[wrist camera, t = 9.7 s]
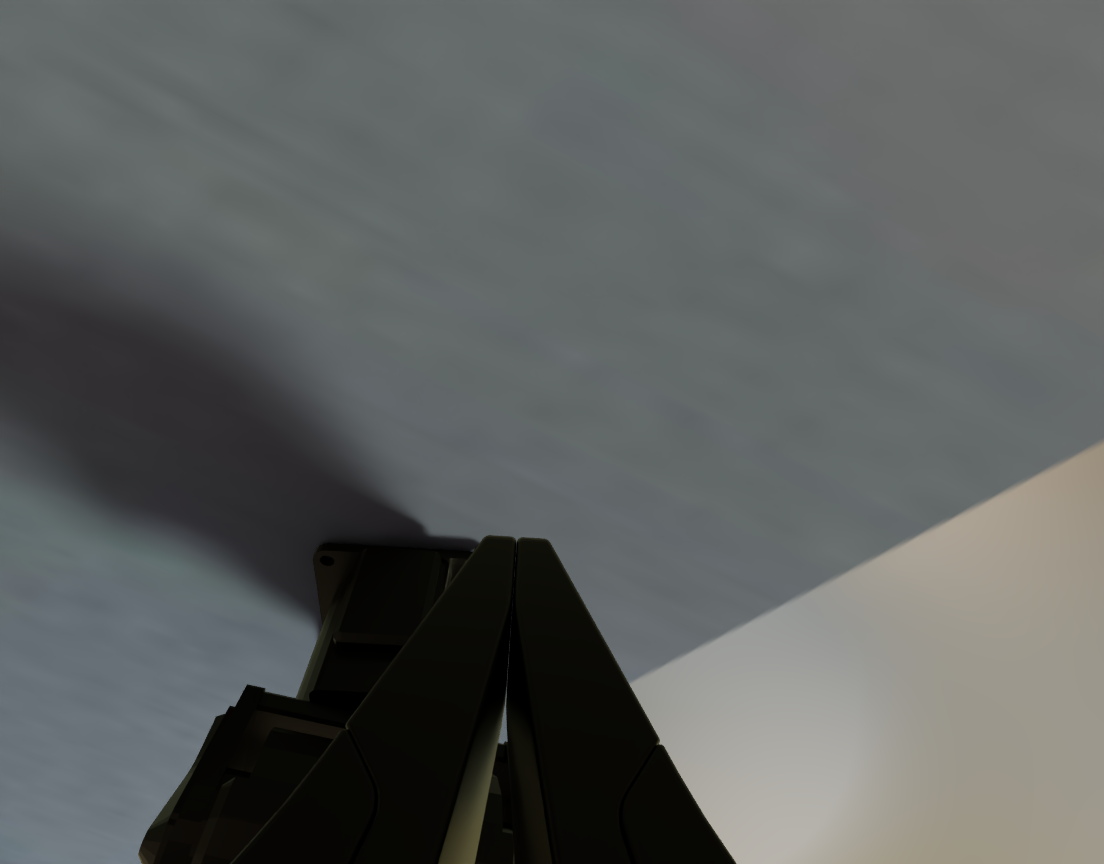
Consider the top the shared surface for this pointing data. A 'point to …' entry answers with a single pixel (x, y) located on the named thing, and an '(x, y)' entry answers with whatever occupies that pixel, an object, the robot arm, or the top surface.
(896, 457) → the top surface
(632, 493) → the top surface
